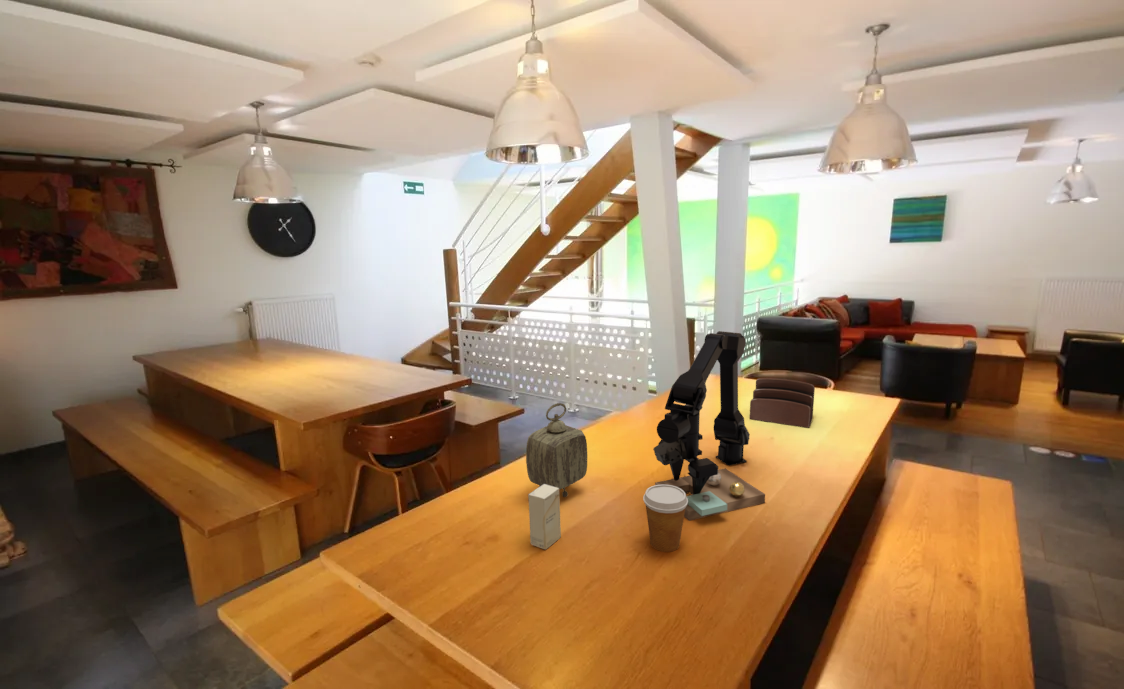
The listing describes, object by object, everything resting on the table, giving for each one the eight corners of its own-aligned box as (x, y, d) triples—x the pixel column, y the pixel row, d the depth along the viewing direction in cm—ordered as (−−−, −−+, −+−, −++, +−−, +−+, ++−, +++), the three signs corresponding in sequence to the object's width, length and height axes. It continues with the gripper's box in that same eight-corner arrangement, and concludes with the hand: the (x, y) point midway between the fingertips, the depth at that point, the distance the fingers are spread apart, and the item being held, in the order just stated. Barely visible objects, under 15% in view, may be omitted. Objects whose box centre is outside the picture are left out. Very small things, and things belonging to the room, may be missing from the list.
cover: (709, 496, 131) (709, 487, 130) (727, 510, 124) (727, 500, 124) (685, 502, 129) (685, 492, 128) (701, 516, 122) (702, 506, 122)
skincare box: (545, 550, 115) (543, 499, 112) (529, 544, 117) (527, 494, 115) (561, 536, 120) (560, 487, 117) (545, 531, 122) (544, 482, 120)
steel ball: (714, 480, 139) (715, 466, 139) (724, 486, 136) (724, 472, 135) (701, 483, 138) (702, 468, 137) (710, 489, 134) (711, 475, 134)
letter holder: (754, 411, 198) (756, 375, 195) (812, 419, 188) (815, 381, 185) (749, 420, 190) (750, 382, 187) (809, 429, 180) (812, 389, 177)
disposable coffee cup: (689, 535, 119) (690, 486, 116) (684, 560, 110) (685, 507, 108) (647, 528, 122) (647, 481, 120) (639, 552, 113) (639, 501, 111)
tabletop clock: (566, 479, 147) (564, 394, 142) (590, 490, 141) (589, 401, 136) (527, 498, 138) (523, 407, 132) (551, 510, 131) (548, 415, 126)
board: (725, 476, 147) (725, 468, 146) (764, 502, 132) (765, 494, 131) (655, 490, 140) (655, 482, 139) (688, 520, 125) (689, 511, 124)
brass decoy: (738, 491, 133) (738, 478, 133) (747, 497, 130) (748, 484, 129) (726, 493, 132) (726, 480, 131) (735, 500, 129) (735, 486, 128)
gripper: (640, 422, 137) (640, 477, 140) (679, 449, 120) (677, 511, 123) (677, 416, 141) (676, 470, 144) (720, 441, 123) (718, 502, 127)
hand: (685, 487), depth 134 cm, fingers open, 9 cm apart
